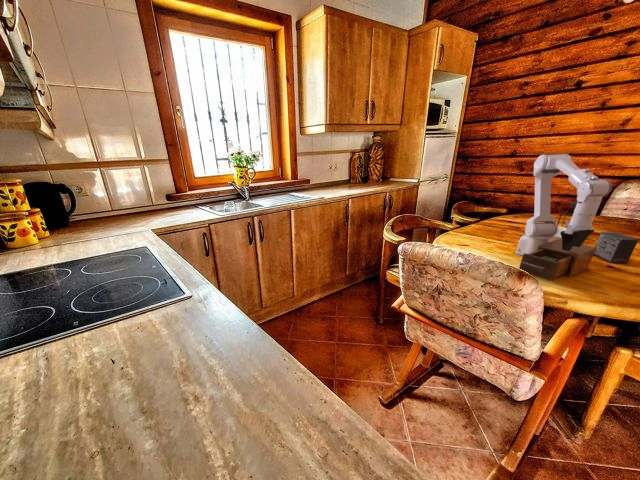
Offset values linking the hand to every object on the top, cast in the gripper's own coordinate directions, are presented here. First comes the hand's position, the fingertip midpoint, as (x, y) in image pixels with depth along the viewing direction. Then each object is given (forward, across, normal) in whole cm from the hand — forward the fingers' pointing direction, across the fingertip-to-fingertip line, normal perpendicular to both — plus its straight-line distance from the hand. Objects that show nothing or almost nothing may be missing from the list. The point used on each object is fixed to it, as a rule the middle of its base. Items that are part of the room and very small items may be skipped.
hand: (570, 248), depth 107 cm
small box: (+11, +32, -3) cm, 34 cm away
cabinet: (+10, +5, +3) cm, 12 cm away
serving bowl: (+11, +34, +18) cm, 40 cm away
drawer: (+10, -9, +3) cm, 13 cm away
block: (+8, -6, +3) cm, 11 cm away
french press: (+11, +57, +21) cm, 62 cm away
